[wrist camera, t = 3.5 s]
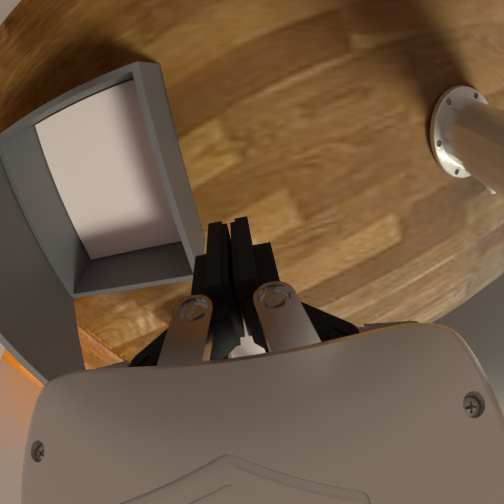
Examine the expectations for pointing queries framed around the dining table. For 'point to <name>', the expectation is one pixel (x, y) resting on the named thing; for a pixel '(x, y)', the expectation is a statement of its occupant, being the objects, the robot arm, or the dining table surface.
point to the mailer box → (107, 184)
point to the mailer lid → (33, 298)
